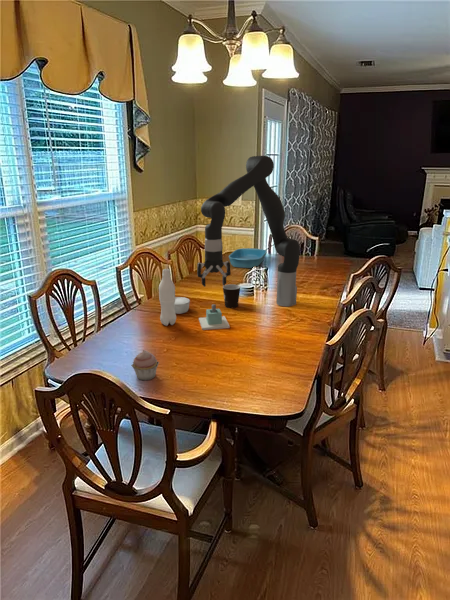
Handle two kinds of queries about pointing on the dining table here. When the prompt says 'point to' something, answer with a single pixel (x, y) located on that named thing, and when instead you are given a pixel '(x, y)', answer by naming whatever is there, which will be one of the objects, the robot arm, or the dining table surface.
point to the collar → (213, 317)
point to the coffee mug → (231, 295)
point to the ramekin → (181, 305)
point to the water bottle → (167, 299)
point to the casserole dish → (247, 257)
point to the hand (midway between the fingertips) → (214, 285)
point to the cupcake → (145, 365)
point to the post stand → (213, 326)
